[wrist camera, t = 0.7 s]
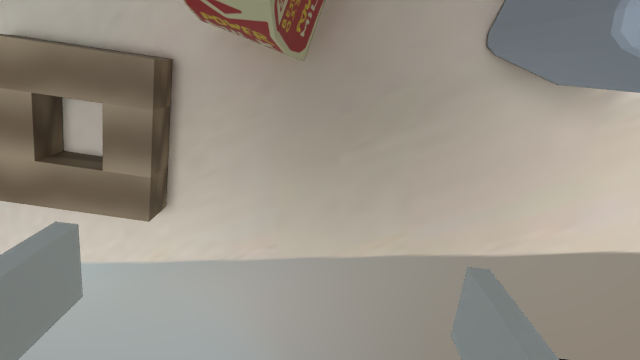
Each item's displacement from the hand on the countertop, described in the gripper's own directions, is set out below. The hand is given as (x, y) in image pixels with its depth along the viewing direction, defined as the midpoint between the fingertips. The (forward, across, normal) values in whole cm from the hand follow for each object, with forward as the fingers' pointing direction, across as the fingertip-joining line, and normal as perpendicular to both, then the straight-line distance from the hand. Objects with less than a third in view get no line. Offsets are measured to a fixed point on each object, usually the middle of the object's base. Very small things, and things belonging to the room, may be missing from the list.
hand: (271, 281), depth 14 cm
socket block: (+25, -20, -1) cm, 32 cm away
